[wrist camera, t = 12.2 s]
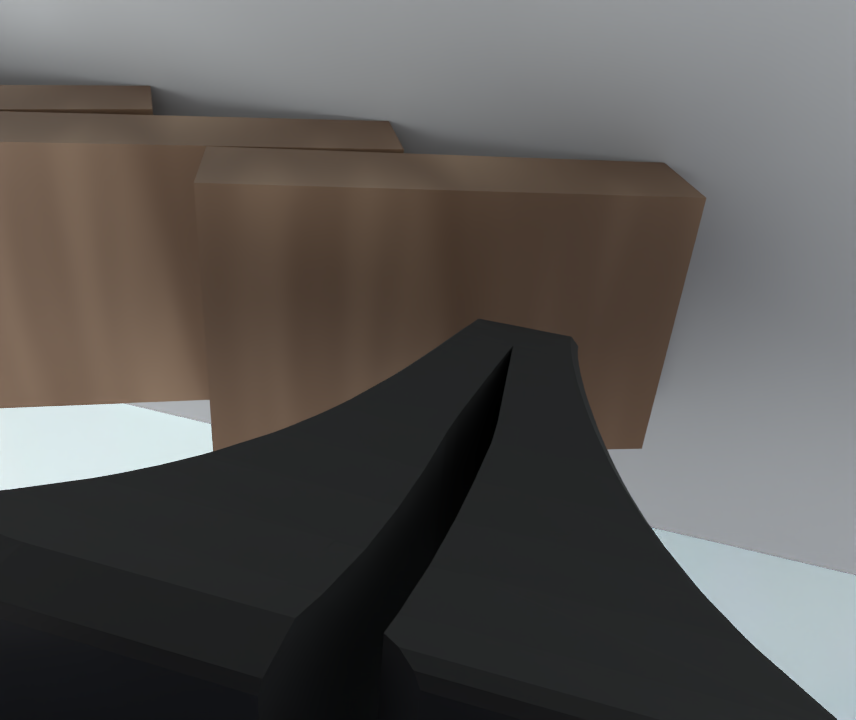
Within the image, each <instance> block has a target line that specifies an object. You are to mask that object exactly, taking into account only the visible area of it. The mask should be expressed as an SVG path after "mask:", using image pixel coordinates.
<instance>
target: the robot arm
mask: <svg viewBox="0 0 856 720" xmlns="http://www.w3.org/2000/svg"><path fill="white" fill-rule="evenodd" d="M0 720H837V719H836V718H835V717H834V716H833V715H832V714H830V713H829V712H828V711H827V710H826V709H825V708H824V707H822V706H821V705H820V704H819V703H818V702H817V701H816V700H815V699H813V698H812V697H811V696H810V695H809V694H808V693H807V692H805V691H804V690H803V689H802V688H801V687H800V686H799V685H797V684H796V683H795V682H794V681H793V680H792V679H791V678H789V677H788V676H787V675H786V674H785V673H784V672H783V671H782V670H780V669H779V668H778V667H777V666H776V665H775V664H774V663H772V662H771V661H770V660H769V659H768V658H767V657H766V656H764V655H763V654H762V653H761V652H760V651H759V650H758V649H756V648H755V647H754V646H753V645H752V644H751V643H750V642H749V641H748V640H747V639H746V638H745V637H744V636H743V635H742V634H741V633H740V632H739V631H738V630H737V629H736V628H735V627H734V626H733V625H732V624H731V622H730V621H729V620H728V619H727V618H726V617H725V616H724V615H723V614H722V613H721V612H720V611H719V610H718V609H717V608H716V607H715V606H714V605H713V604H712V603H711V602H710V601H709V600H708V599H707V598H706V596H705V595H704V594H703V593H702V592H701V591H700V590H699V588H698V587H697V586H696V585H695V584H694V583H693V581H692V580H691V579H690V578H689V576H688V575H687V574H686V573H685V571H684V570H683V569H682V568H681V567H680V565H679V564H678V563H677V562H676V560H675V559H674V558H673V557H672V555H671V554H670V553H669V552H668V550H667V549H666V548H665V547H664V545H663V544H662V543H661V541H660V540H659V538H658V537H657V535H656V534H655V532H654V531H653V530H652V528H651V527H650V525H649V524H648V522H647V521H646V519H645V518H644V516H643V514H642V513H641V511H640V510H639V508H638V506H637V505H636V503H635V502H634V500H633V498H632V497H631V495H630V493H629V491H628V490H627V488H626V486H625V484H624V482H623V481H622V479H621V477H620V475H619V473H618V471H617V469H616V467H615V465H614V463H613V461H612V459H611V457H610V454H609V452H608V450H607V448H606V446H605V444H604V441H603V439H602V437H601V434H600V432H599V429H598V427H597V424H596V421H595V419H594V416H593V413H592V410H591V407H590V405H589V402H588V399H587V396H586V392H585V389H584V385H583V381H582V377H581V373H580V368H579V362H578V345H577V344H576V342H575V341H574V339H573V338H572V337H571V336H566V335H561V334H556V333H551V332H545V331H540V330H535V329H530V328H525V327H520V326H515V325H510V324H504V323H499V322H494V321H489V320H484V319H477V320H476V321H474V322H473V323H471V324H470V325H468V326H467V327H465V328H463V329H462V330H460V331H459V332H458V333H456V334H455V335H453V336H452V337H450V338H449V339H448V340H446V341H445V342H443V343H442V344H440V345H439V346H437V347H436V348H435V349H433V350H432V351H430V352H429V353H427V354H426V355H424V356H423V357H421V358H420V359H418V360H417V361H415V362H413V363H412V364H410V365H409V366H407V367H406V368H404V369H403V370H401V371H399V372H398V373H396V374H395V375H393V376H391V377H390V378H388V379H386V380H384V381H382V382H381V383H379V384H377V385H375V386H373V387H372V388H370V389H368V390H366V391H364V392H363V393H361V394H359V395H357V396H355V397H354V398H352V399H350V400H348V401H346V402H344V403H342V404H340V405H338V406H336V407H333V408H331V409H329V410H327V411H325V412H323V413H320V414H318V415H316V416H313V417H311V418H308V419H306V420H303V421H301V422H299V423H296V424H294V425H291V426H289V427H286V428H284V429H281V430H278V431H276V432H273V433H270V434H267V435H263V436H260V437H257V438H254V439H251V440H248V441H245V442H241V443H238V444H235V445H232V446H229V447H226V448H223V449H219V450H216V451H213V452H210V453H206V454H203V455H199V456H195V457H191V458H187V459H183V460H179V461H175V462H171V463H167V464H163V465H158V466H153V467H148V468H143V469H139V470H134V471H129V472H124V473H119V474H113V475H108V476H102V477H97V478H90V479H83V480H76V481H69V482H61V483H54V484H47V485H40V486H32V487H25V488H18V489H11V490H1V491H0Z"/></svg>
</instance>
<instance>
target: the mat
mask: <svg viewBox="0 0 856 720" xmlns="http://www.w3.org/2000/svg"><path fill="white" fill-rule="evenodd" d="M0 85H114V86H151V97H152V107H153V115H169V116H208V117H248V118H287V119H327V120H366V121H389V122H390V124H391V126H392V128H393V130H394V132H395V134H396V135H397V137H398V139H399V141H400V143H401V145H402V147H403V149H404V153H411V154H438V155H466V156H494V157H522V158H550V159H578V160H606V161H634V162H662V163H665V164H667V165H668V166H669V167H670V168H671V169H673V170H674V171H675V172H676V173H677V174H679V175H680V176H681V177H682V178H683V179H685V180H686V181H687V182H688V183H689V184H691V185H692V186H693V187H694V188H695V189H697V190H698V191H699V192H700V193H701V194H703V195H704V196H705V197H706V202H705V206H704V210H703V213H702V217H701V221H700V225H699V229H698V233H697V237H696V241H695V244H694V248H693V252H692V256H691V260H690V264H689V268H688V272H687V275H686V279H685V283H684V287H683V291H682V295H681V299H680V303H679V306H678V310H677V314H676V318H675V322H674V326H673V330H672V334H671V338H670V341H669V345H668V349H667V353H666V357H665V361H664V365H663V369H662V372H661V376H660V380H659V384H658V388H657V392H656V396H655V400H654V403H653V407H652V411H651V415H650V419H649V423H648V427H647V431H646V434H645V438H644V442H643V446H642V449H607V450H608V452H609V454H610V457H611V459H612V461H613V463H614V465H615V467H616V469H617V471H618V473H619V475H620V477H621V479H622V481H623V482H624V484H625V486H626V488H627V490H628V491H629V493H630V495H631V497H632V498H633V500H634V502H635V503H636V505H637V506H638V508H639V510H640V511H641V513H642V514H643V516H644V518H645V519H646V521H647V522H648V524H649V525H650V527H653V528H657V529H661V530H666V531H670V532H674V533H679V534H683V535H687V536H691V537H696V538H700V539H704V540H708V541H713V542H717V543H721V544H725V545H730V546H734V547H738V548H742V549H747V550H751V551H755V552H760V553H764V554H768V555H772V556H777V557H781V558H785V559H789V560H794V561H798V562H802V563H806V564H811V565H815V566H819V567H823V568H828V569H832V570H836V571H840V572H845V573H849V574H853V575H856V0H0ZM124 404H129V405H133V406H137V407H141V408H146V409H150V410H154V411H159V412H163V413H167V414H171V415H176V416H180V417H184V418H188V419H193V420H197V421H201V422H205V423H210V424H211V413H210V400H193V401H167V402H142V403H124Z"/></svg>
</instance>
